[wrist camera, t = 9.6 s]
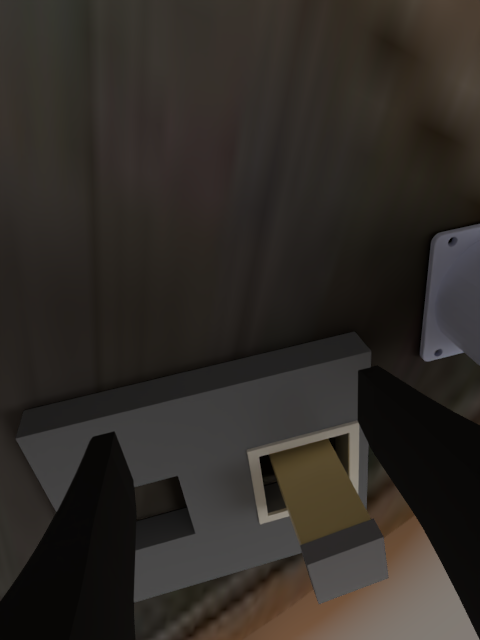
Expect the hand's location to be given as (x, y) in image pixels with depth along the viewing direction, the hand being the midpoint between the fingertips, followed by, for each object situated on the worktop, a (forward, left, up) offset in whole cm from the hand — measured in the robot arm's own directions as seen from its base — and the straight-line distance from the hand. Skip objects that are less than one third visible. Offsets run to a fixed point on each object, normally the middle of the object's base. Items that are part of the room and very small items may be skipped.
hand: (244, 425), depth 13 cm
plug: (-4, +13, -10) cm, 17 cm away
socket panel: (+1, +13, -10) cm, 16 cm away
